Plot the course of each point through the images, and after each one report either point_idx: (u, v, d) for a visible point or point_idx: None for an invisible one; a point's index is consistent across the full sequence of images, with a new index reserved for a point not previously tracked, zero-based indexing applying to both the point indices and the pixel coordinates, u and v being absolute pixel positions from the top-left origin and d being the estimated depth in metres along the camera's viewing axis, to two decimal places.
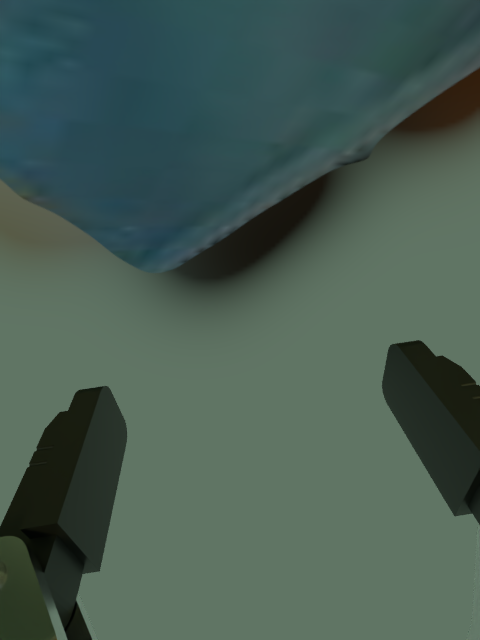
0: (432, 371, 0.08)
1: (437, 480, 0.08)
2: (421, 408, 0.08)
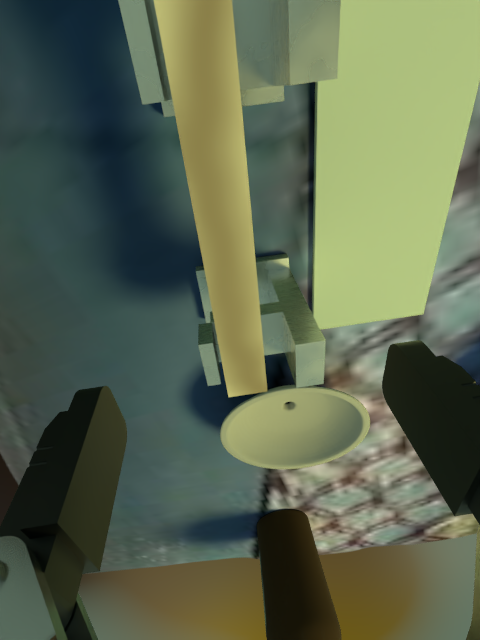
0: (431, 371, 0.08)
1: (437, 480, 0.08)
2: (421, 408, 0.08)
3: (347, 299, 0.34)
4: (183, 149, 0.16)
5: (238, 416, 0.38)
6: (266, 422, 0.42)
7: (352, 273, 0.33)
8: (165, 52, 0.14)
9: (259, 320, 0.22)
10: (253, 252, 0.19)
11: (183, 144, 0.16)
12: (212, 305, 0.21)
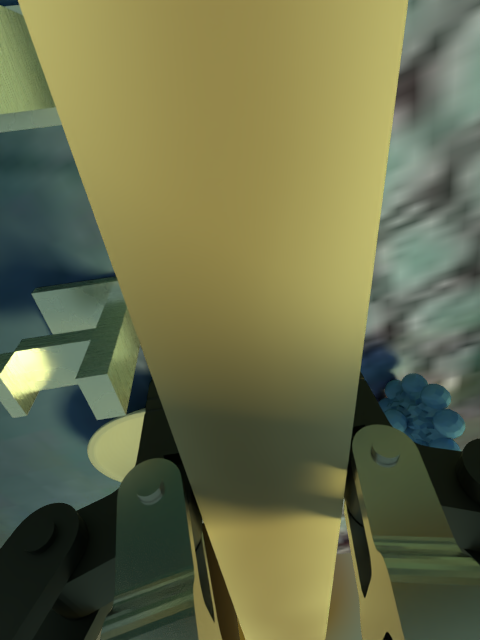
0: None
1: None
2: None
3: None
4: (135, 312, 0.04)
5: (110, 437, 0.38)
6: None
7: None
8: None
9: (328, 587, 0.10)
10: (338, 508, 0.07)
11: (134, 298, 0.04)
12: (228, 582, 0.09)
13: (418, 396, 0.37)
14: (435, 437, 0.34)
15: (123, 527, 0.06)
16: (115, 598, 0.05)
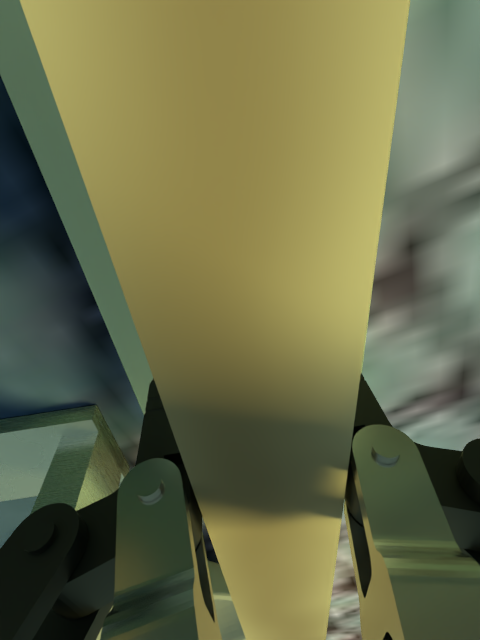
0: None
1: None
2: None
3: None
4: (136, 310, 0.04)
5: None
6: None
7: None
8: None
9: (329, 586, 0.10)
10: (339, 507, 0.07)
11: (135, 295, 0.04)
12: (228, 581, 0.09)
13: None
14: None
15: (123, 527, 0.06)
16: (115, 598, 0.05)
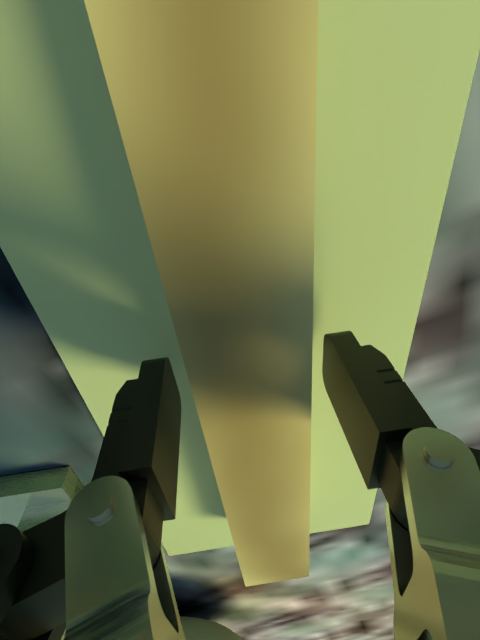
0: (352, 357, 0.09)
1: (357, 458, 0.09)
2: (344, 392, 0.09)
3: (218, 519, 0.18)
4: (154, 239, 0.06)
5: None
6: None
7: (216, 490, 0.16)
8: None
9: (307, 505, 0.12)
10: (308, 419, 0.09)
11: (153, 227, 0.06)
12: (222, 493, 0.11)
13: None
14: None
15: (72, 553, 0.06)
16: (67, 628, 0.05)
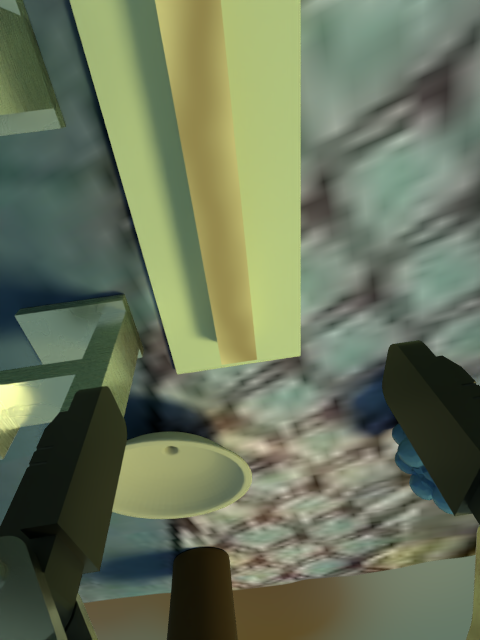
0: (431, 371, 0.08)
1: (437, 480, 0.08)
2: (421, 408, 0.08)
3: (207, 341, 0.30)
4: (181, 135, 0.18)
5: None
6: (147, 468, 0.39)
7: (205, 315, 0.29)
8: (166, 52, 0.16)
9: (248, 291, 0.24)
10: (242, 228, 0.22)
11: (181, 131, 0.18)
12: (206, 276, 0.23)
13: None
14: None
15: None
16: None
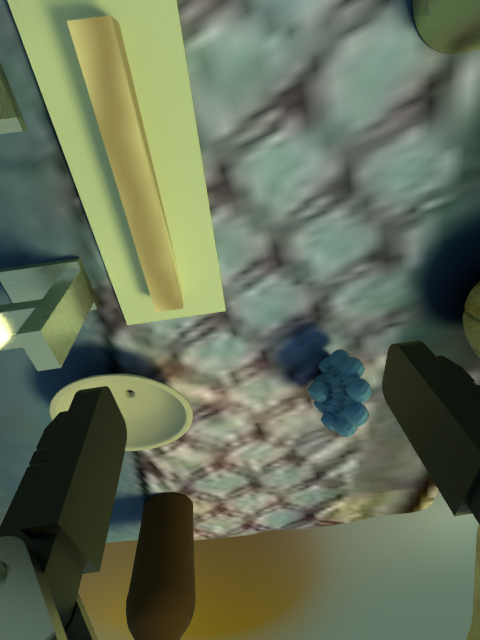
0: (431, 370, 0.08)
1: (437, 480, 0.08)
2: (421, 408, 0.08)
3: (148, 297, 0.39)
4: (102, 135, 0.27)
5: None
6: None
7: None
8: (85, 80, 0.25)
9: (167, 251, 0.33)
10: (155, 202, 0.30)
11: (102, 132, 0.27)
12: (134, 239, 0.32)
13: (339, 368, 0.42)
14: (348, 402, 0.39)
15: None
16: None
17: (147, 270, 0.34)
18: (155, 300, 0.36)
